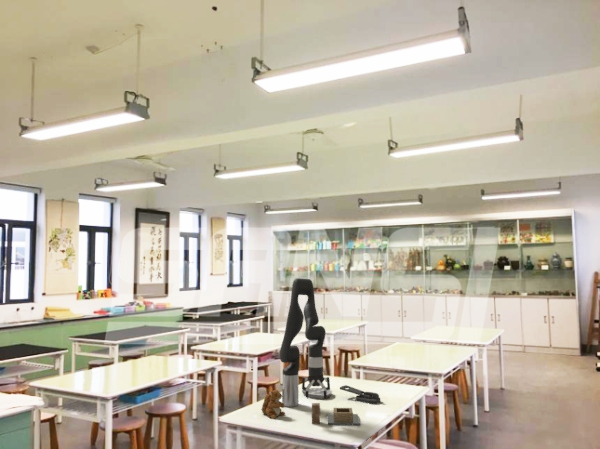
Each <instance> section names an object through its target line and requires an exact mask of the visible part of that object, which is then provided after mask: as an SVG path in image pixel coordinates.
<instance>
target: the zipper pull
mask: <svg viewBox="0 0 600 449" xmlns="http://www.w3.org/2000/svg"><path fill="white" fill-rule="evenodd" d="M339 389H340V390H342V391H344V392H349V393H351V394H355V395H356V396H355V401H356V402H358V403H359V402H360V403H363V404H368V403H369V405H377V403H378V404H380V403H381V397H380V394H378V393H377V392H372V391H371V392H370V391H364V390H360V389H358V388H355V387H352V386H350V385H347V384H345V385H342V386H340V387H339Z"/></svg>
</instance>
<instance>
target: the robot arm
mask: <svg viewBox="0 0 600 449" xmlns="http://www.w3.org/2000/svg"><path fill="white" fill-rule="evenodd" d="M290 294H291V295H290V305H289V309H288V313H287V316H286V317H287V318H286V325H285V331H284V335H283V339H282V342H281V345H280V346H281V347H280V350H279V360H280V361H281V363H284V364H285V363H286V364H288V363H289V364H288V365H287V366H286V367H284V368H283V369H282V389H281V395H282V397H283V398H282V397H281V402H282V403H284V405H285V407H287V408H288V407H289V408H291V407H293V408H294V407H297V406H299V370H300V361H301V360H300V356H301V353H300V349H299V346H298V345H292V342H293V341H294V339H295V338H296V337H297V335H298V334H300V331H301V330H302V328H303V324H304V323H303V322H304V321H305V331H304V335H305V336H304V337H305V338H306V339H307V340H308V341H316V343H314V344H310V345H309V346H308V364H307V365H308V366H307V367H308V376H307V377H306V376H302V383H301V389H302V390H305V391H306V396H305V398H306V399H309V398H310V397H308V390H309V389H311V387H320V388H323V389H324V399H326V398H325V397H327V394H326V391H327V390H331V386H330V385H331V384H330V377H329V376H327V377H324V359H323V347H324V346H323V345H324V341H325V340H326V339H325V338H326V329H325V327H324V326H322V325H318V324H319V316H318V312H317V308H316V300H315V291H314V284H313V281H312V280H311V279H310V278H300V277H299V278H295V279H294V280H293V282H292V286H291V293H290ZM299 296H306V297H307V301H306V303H305V305H304V307H303V311H302V309H301V307H300V304H299ZM307 381H308V382H309V383H308V384H307V386H306V382H307ZM324 381H325V382H326V383H327V384H326V385H327V387H326V386H325V384H324ZM302 390H301V391H302ZM324 399H323V400H324Z"/></svg>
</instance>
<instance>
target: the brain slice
mask: <svg viewBox="0 0 600 449" xmlns="http://www.w3.org/2000/svg"><path fill="white" fill-rule="evenodd" d="M301 392H302V394H303V395H304V397H306V391H305V390H301ZM326 394H327V397H325V399H328V398H330V397H331V395H332V394H333V391H332V389H330V390H327V391H326ZM308 397H309V398H311V399H317V400H324V389H323V388H322V387H316V388H314V387H313V388H311V387H310V388H309V390H308Z"/></svg>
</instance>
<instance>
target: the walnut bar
mask: <svg viewBox="0 0 600 449" xmlns="http://www.w3.org/2000/svg"><path fill="white" fill-rule="evenodd" d="M320 416H321V403H320V402H315V403H314V402H312V403H311V424H312V425H320V424H321V417H320Z"/></svg>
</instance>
